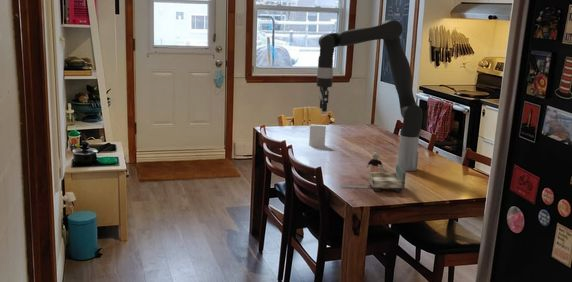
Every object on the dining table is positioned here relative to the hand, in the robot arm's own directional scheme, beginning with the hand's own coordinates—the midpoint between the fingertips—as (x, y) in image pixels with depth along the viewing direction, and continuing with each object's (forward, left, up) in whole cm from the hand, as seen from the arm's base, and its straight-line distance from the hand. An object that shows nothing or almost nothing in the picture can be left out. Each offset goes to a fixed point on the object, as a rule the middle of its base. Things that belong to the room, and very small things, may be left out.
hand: (323, 109), depth 286 cm
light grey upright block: (-3, -45, -29) cm, 54 cm away
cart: (-26, +32, -29) cm, 50 cm away
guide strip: (-19, +32, -29) cm, 47 cm away
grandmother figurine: (-24, +17, -29) cm, 41 cm away
